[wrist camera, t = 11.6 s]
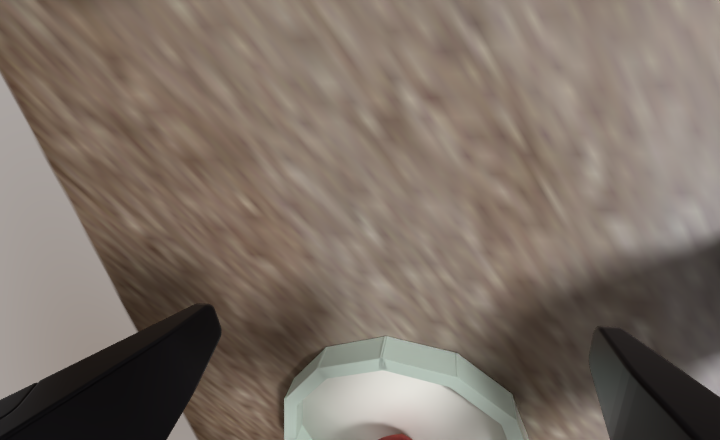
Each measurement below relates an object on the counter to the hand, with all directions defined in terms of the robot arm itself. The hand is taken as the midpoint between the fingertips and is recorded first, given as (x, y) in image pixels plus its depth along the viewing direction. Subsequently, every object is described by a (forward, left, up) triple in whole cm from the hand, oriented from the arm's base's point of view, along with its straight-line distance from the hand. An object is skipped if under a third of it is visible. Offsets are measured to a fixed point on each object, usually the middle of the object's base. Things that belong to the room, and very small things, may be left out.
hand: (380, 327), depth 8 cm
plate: (-12, +17, -12) cm, 24 cm away
